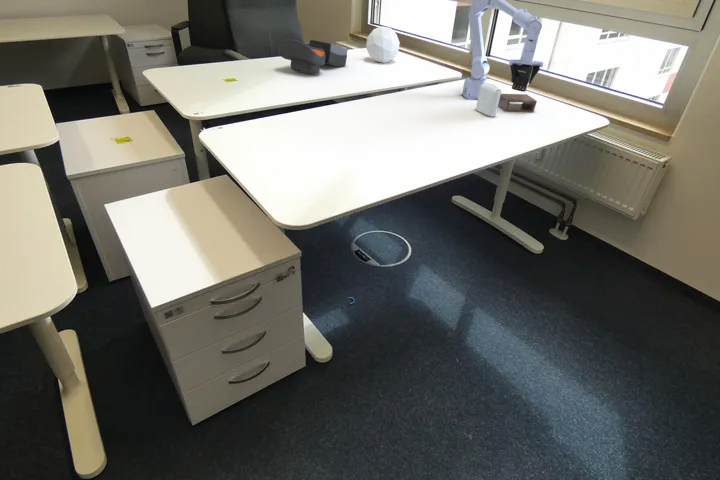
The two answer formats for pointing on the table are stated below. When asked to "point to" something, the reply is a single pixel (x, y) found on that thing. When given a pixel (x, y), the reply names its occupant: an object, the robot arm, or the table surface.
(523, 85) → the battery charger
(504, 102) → the shelf
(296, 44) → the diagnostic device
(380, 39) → the geometric orb
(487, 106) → the photo printer
